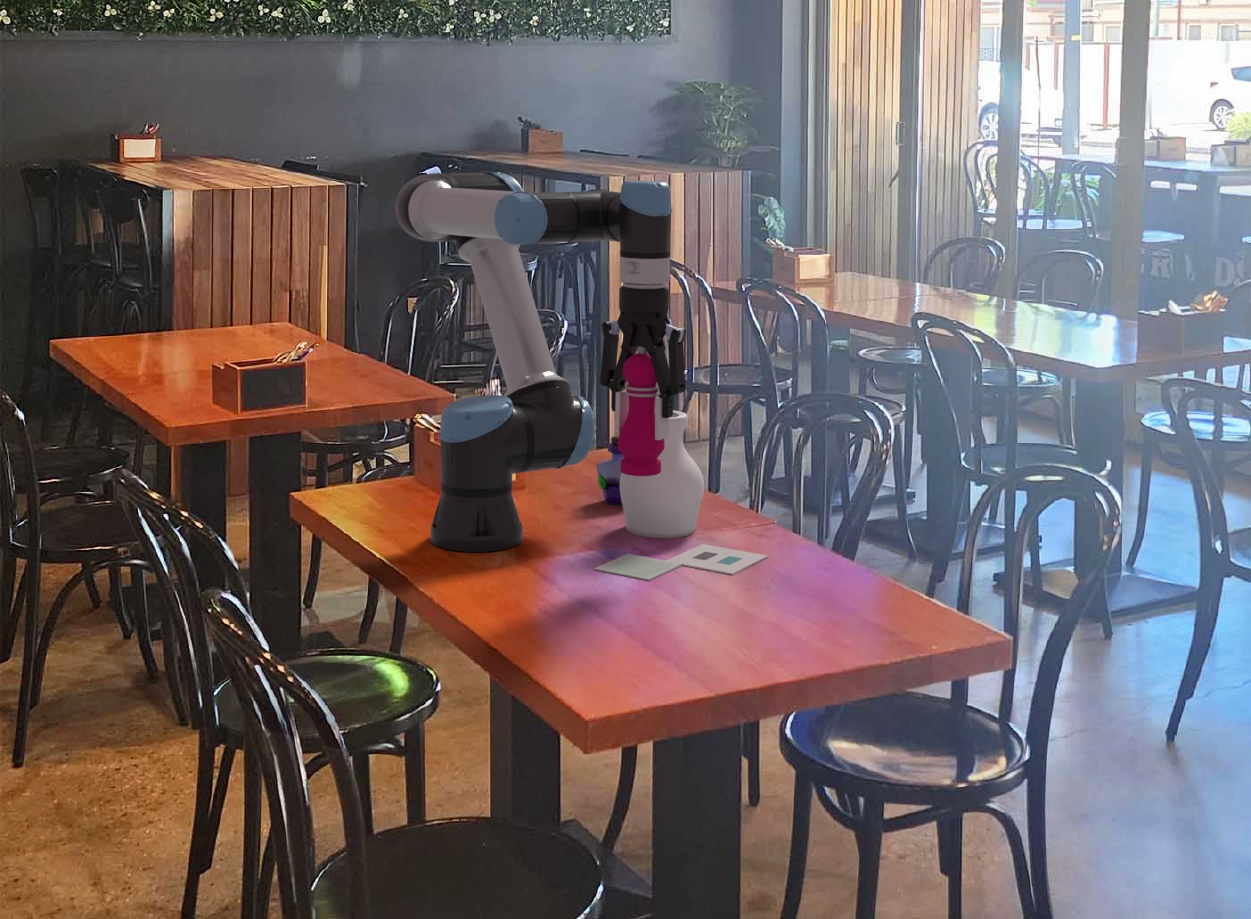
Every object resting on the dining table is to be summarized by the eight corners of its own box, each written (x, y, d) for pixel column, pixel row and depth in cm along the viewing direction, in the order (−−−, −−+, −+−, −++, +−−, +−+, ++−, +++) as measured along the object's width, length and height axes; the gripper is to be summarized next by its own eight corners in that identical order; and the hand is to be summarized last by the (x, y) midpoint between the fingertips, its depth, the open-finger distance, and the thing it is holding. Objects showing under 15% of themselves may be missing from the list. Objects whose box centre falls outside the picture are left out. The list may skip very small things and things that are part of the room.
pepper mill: (659, 478, 244) (662, 347, 240) (612, 475, 245) (614, 345, 241) (667, 468, 251) (670, 340, 247) (622, 465, 252) (624, 338, 248)
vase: (683, 515, 284) (686, 403, 279) (715, 536, 271) (719, 419, 266) (607, 521, 279) (608, 407, 274) (636, 543, 266) (638, 424, 261)
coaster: (594, 569, 250) (594, 568, 250) (628, 555, 258) (628, 553, 258) (649, 580, 245) (649, 579, 245) (682, 565, 253) (682, 563, 253)
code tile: (665, 562, 255) (665, 560, 255) (702, 545, 265) (702, 543, 265) (732, 574, 249) (732, 573, 249) (768, 557, 259) (768, 555, 259)
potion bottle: (585, 501, 292) (586, 436, 289) (616, 493, 298) (617, 430, 296) (621, 510, 286) (623, 444, 284) (652, 501, 293) (654, 436, 290)
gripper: (576, 282, 244) (575, 431, 249) (688, 292, 234) (684, 447, 239) (603, 278, 250) (601, 424, 255) (713, 287, 240) (708, 439, 245)
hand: (641, 435), depth 247 cm, fingers closed on pepper mill, 6 cm apart
